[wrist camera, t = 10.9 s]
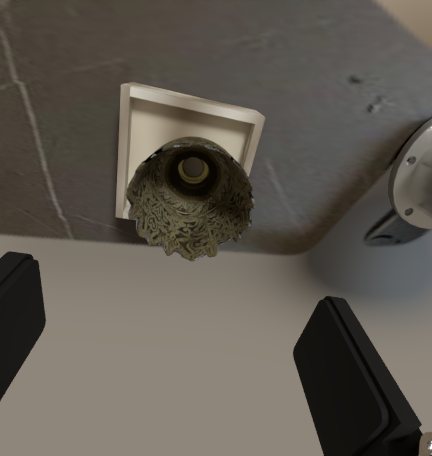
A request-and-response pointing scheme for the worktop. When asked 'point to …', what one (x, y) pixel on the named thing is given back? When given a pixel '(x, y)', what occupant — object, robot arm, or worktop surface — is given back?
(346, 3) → the worktop surface
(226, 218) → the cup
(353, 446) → the robot arm
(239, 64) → the worktop surface
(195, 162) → the birch tray
